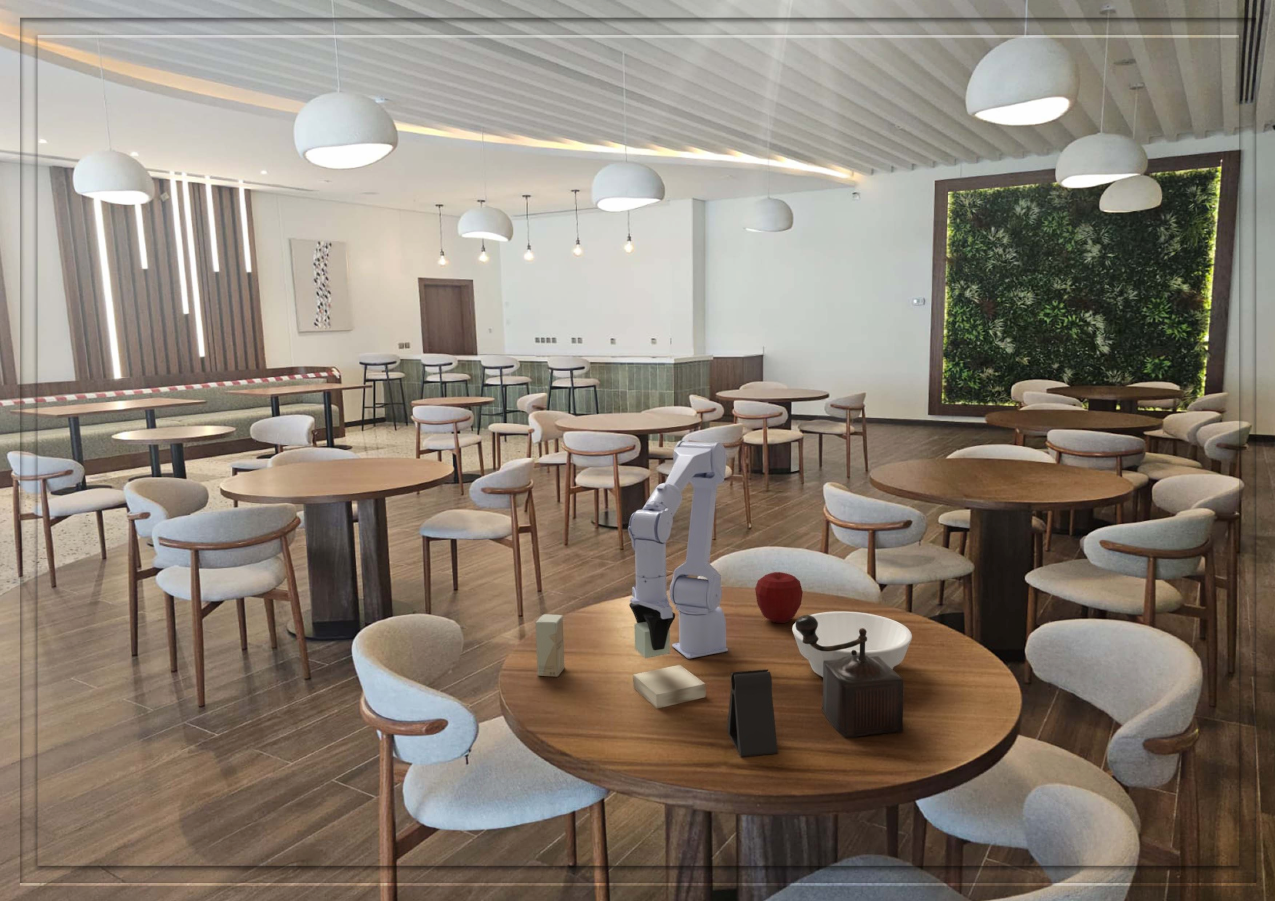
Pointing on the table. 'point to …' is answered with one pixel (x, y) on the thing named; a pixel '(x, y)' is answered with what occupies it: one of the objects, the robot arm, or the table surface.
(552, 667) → the box
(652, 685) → the birch block
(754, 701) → the phone stand
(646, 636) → the sage cube
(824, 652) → the bowl
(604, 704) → the table surface
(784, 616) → the apple
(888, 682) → the manual coffee grinder
